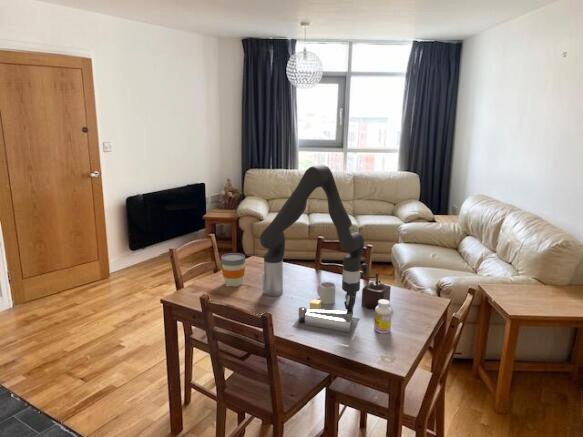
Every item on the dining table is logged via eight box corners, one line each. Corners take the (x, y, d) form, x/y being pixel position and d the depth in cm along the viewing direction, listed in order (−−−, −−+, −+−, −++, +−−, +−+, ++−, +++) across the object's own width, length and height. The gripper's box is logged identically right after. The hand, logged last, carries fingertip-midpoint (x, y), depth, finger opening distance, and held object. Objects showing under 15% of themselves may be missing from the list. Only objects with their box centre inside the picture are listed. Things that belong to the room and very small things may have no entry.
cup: (327, 307, 198) (328, 289, 196) (312, 300, 205) (312, 282, 203) (338, 302, 202) (338, 285, 200) (322, 296, 210) (323, 279, 207)
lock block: (309, 315, 188) (309, 302, 187) (312, 311, 192) (312, 298, 190) (318, 316, 187) (318, 304, 185) (320, 312, 190) (321, 300, 189)
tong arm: (306, 320, 182) (307, 311, 181) (307, 318, 184) (307, 309, 183) (351, 323, 180) (352, 313, 179) (351, 321, 182) (351, 311, 181)
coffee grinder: (390, 304, 201) (393, 268, 197) (382, 312, 192) (384, 275, 188) (360, 296, 210) (362, 261, 205) (350, 304, 201) (352, 268, 196)
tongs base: (296, 323, 181) (297, 310, 179) (300, 319, 184) (300, 306, 183) (348, 333, 173) (349, 319, 171) (351, 328, 176) (351, 315, 175)
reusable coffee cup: (216, 285, 222) (215, 257, 218) (232, 277, 232) (231, 251, 229) (235, 290, 216) (234, 262, 212) (250, 282, 226) (250, 255, 222)
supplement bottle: (372, 326, 180) (373, 298, 177) (387, 325, 180) (389, 297, 177) (376, 334, 173) (378, 305, 170) (392, 333, 174) (394, 304, 171)
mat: (291, 328, 178) (291, 326, 178) (305, 310, 194) (305, 309, 194) (350, 339, 169) (350, 338, 169) (360, 319, 185) (360, 318, 185)
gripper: (346, 272, 187) (345, 308, 192) (338, 283, 175) (337, 321, 180) (363, 274, 185) (361, 311, 189) (356, 286, 173) (355, 324, 177)
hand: (349, 316), depth 184 cm, fingers closed
